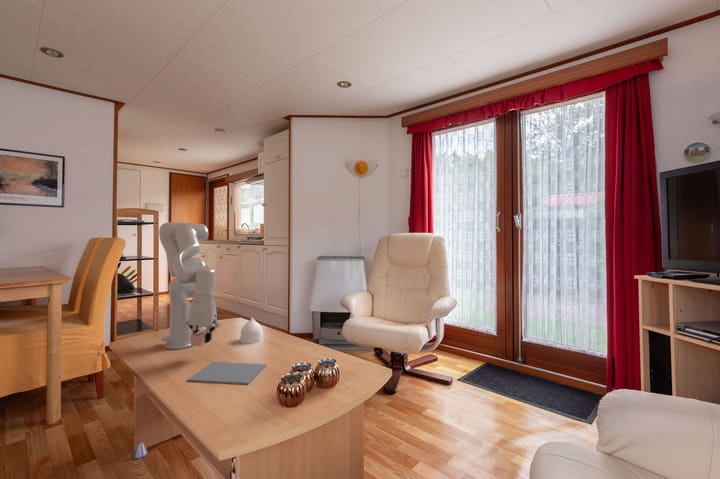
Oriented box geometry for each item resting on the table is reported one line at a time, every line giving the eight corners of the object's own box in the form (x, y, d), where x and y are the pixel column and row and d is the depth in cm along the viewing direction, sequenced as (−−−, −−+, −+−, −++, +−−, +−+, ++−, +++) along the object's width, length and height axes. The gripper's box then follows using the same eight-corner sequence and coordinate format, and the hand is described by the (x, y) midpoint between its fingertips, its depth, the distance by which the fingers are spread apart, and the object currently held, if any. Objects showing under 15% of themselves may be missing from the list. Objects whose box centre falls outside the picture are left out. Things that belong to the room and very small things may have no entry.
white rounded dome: (237, 339, 170) (237, 315, 170) (258, 336, 177) (259, 313, 177) (243, 345, 161) (244, 320, 161) (266, 341, 168) (266, 317, 168)
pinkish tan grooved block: (190, 345, 136) (190, 335, 136) (202, 338, 145) (202, 328, 145) (201, 346, 136) (201, 336, 136) (212, 339, 145) (212, 329, 145)
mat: (187, 381, 118) (187, 379, 118) (212, 363, 136) (212, 361, 136) (248, 384, 117) (248, 382, 117) (266, 365, 135) (266, 364, 135)
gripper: (179, 298, 137) (177, 342, 137) (219, 301, 136) (217, 346, 136) (189, 294, 144) (187, 336, 145) (228, 297, 143) (225, 340, 144)
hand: (201, 340), depth 140 cm, fingers closed on pinkish tan grooved block, 4 cm apart
